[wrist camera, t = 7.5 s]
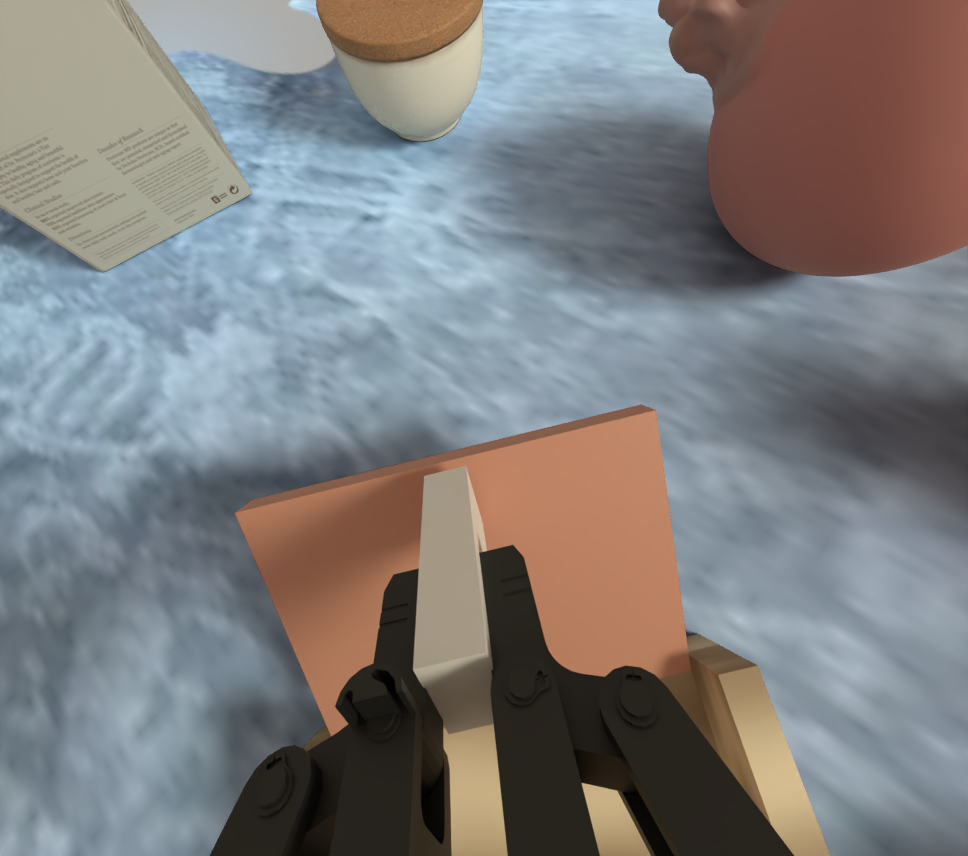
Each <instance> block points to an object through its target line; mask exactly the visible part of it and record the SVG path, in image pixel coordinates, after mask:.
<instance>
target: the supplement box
mask: <svg viewBox="0 0 968 856" xmlns="http://www.w3.org/2000/svg"><path fill="white" fill-rule="evenodd" d="M251 193H252V191H251V189H250V187H249V186H248V184H247V182H246V180H245V179H244V177H243V175H242V173H241V171H240V170H239V168H238V166H237V164H236V163H235V161H234V159H233V157H232V155H231V154H230V152H229V150H228V148H227V147H226V145H225V143H224V141H223V139H222V138H221V136H220V134H219V132H218V130H217V129H216V127H215V125H214V123H213V122H212V120H211V118H210V116H209V115H208V113H207V111H206V110H205V108H204V106H203V105H202V103H201V102H200V100H199V99H198V98H197V96H196V95H195V94H194V92H193V91H192V90H191V88H190V87H189V85H188V84H187V83H186V81H185V80H184V79H183V77H182V76H181V74H180V73H179V72H178V70H177V69H176V68H175V66H174V65H173V63H172V62H171V61H170V59H169V58H168V56H167V55H166V54H165V52H164V51H163V50H162V48H161V47H160V45H159V44H158V43H157V41H156V40H155V38H154V37H153V36H152V34H151V33H150V32H149V30H148V29H147V27H146V26H145V25H144V23H143V22H142V20H141V19H140V18H139V16H138V15H137V14H136V12H135V11H134V10H133V8H132V7H131V5H130V4H129V3H128V1H127V0H0V207H1V208H2V209H4V210H6V211H7V212H9V213H10V214H12V215H13V216H15V217H16V218H18V219H20V220H21V221H23V222H24V223H26V224H27V225H29V226H30V227H32V228H34V229H35V230H37V231H38V232H40V233H42V234H43V235H45V236H46V237H48V238H49V239H51V240H53V241H54V242H56V243H57V244H59V245H60V246H62V247H64V248H65V249H67V250H68V251H70V252H71V253H73V254H74V255H76V256H77V257H79V258H80V259H82V260H83V261H85V262H86V263H88V264H89V265H91V266H92V267H94V268H95V269H97V270H98V271H100V272H105V271H107V270H109V269H111V268H113V267H115V266H117V265H118V264H120V263H122V262H124V261H126V260H128V259H130V258H132V257H134V256H136V255H137V254H139V253H141V252H143V251H145V250H147V249H149V248H151V247H153V246H154V245H156V244H158V243H160V242H162V241H164V240H166V239H168V238H170V237H172V236H173V235H175V234H177V233H179V232H181V231H183V230H185V229H187V228H189V227H190V226H192V225H194V224H196V223H198V222H200V221H202V220H204V219H206V218H208V217H209V216H211V215H213V214H215V213H217V212H219V211H221V210H222V209H224V208H226V207H228V206H230V205H232V204H234V203H236V202H238V201H240V200H242V199H243V198H245V197H247V196H249V195H250V194H251Z"/></svg>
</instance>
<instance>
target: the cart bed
mask: <svg viewBox="0 0 968 856" xmlns="http://www.w3.org/2000/svg"><path fill="white" fill-rule="evenodd" d="M686 638H687V645H688V653H689V660H690V667H691V671H688V672H684V673H680V674H675V675H671V676H667V677H663V678H659V679H660V680H661V681H662V682H663V683H664V684H665V685H666V686H667V687H668V689H669V690H670V691H671V693H672V694H673V695H674V697H675V698H676V699H677V701H678V702H679V703H680V705H681V706H682V707H683V709H684V710H685V711H686V713H687V714H688V715H689V717H690V718H691V719H692V721H693V722H694V723H695V725H696V726H697V727H698V729H699V730H700V731H701V733H702V734H703V735H704V737H705V738H706V739H707V741H708V742H709V743H710V745H711V746H712V747H713V748H714V750H715V751H716V752H717V754H718V755H719V756H720V758H721V759H722V760H723V762H724V763H725V764H726V766H727V767H728V768H729V770H730V771H731V772H732V774H733V775H734V776H735V778H736V779H737V780H738V782H739V783H740V784H741V786H742V787H743V788H744V790H745V791H746V792H747V794H748V795H749V796H750V798H751V799H752V800H753V802H754V803H755V804H756V805H757V807H758V808H759V809H760V811H761V812H762V813H763V815H764V816H765V817H766V819H767V820H768V821H769V823H770V824H771V825H772V827H773V828H774V829H775V831H776V832H777V833H778V835H779V836H780V837H781V839H782V840H783V841H784V843H785V844H786V845H787V847H788V848H789V849H790V851H791V852H792V853H793V855H794V856H830V853H829V851H828V848H827V845H826V843H825V840H824V838H823V835H822V832H821V830H820V827H819V825H818V822H817V819H816V817H815V814H814V812H813V809H812V806H811V804H810V801H809V799H808V796H807V793H806V791H805V788H804V785H803V783H802V780H801V778H800V775H799V772H798V770H797V767H796V765H795V762H794V759H793V757H792V754H791V752H790V749H789V746H788V744H787V741H786V739H785V736H784V733H783V731H782V728H781V726H780V723H779V720H778V718H777V715H776V713H775V710H774V707H773V705H772V702H771V699H770V697H769V694H768V692H767V689H766V686H765V684H764V681H763V679H762V676H761V673H760V671H759V668H758V666H757V665H755V664H754V663H752V662H750V661H748V660H746V659H744V658H743V657H741V656H739V655H737V654H735V653H733V652H731V651H730V650H728V649H726V648H724V647H722V646H720V645H718V644H717V643H715V642H713V641H711V640H709V639H707V638H705V637H704V636H702V635H700V634H696V635H692V636H687V637H686ZM329 737H331V735H330V733H329V730H328V728H327V726H326V725H325V726H324V727H323V728H322V729H321V730H320V731H319V732H318V733H317V734H316V735H315V736H314V737H313V738H312V739H311V740H310V741H309V742H308V743H307V744H306V745H305V746H304V747H303V749H305V750H306V751H308V750H310V749H312V748H313V747H315V746H316V745H318V744H320V743H321V742H323V741H324V740H326V739H328V738H329ZM443 746H444V751H445V752H446V754H447V756H448V762H449V767H450V806H451V852H452V856H508V854H507V845H506V835H505V826H504V816H503V807H502V798H501V788H500V779H499V770H498V760H497V751H496V742H495V732H494V724H491V725H487V726H482V727H478V728H474V729H470V730H465V731H461V732H457V733H452V734H448V732H447V730H446V729H444V730H443ZM582 787H583V791H584V794H585V798H586V802H587V806H588V810H589V814H590V818H591V822H592V826H593V830H594V834H595V838H596V842H597V846H598V850H599V854H600V856H651V855H650V853H649V851H648V849H647V847H646V845H645V843H644V841H643V840H642V838H641V836H640V834H639V832H638V830H637V828H636V826H635V824H634V822H633V820H632V818H631V816H630V814H629V812H628V811H627V809H626V807H625V805H624V803H623V801H622V799H621V797H620V795H619V793H618V791H616V790H612V789H607V788H603V787H598V786H594V785H589V784H585V783H582Z"/></svg>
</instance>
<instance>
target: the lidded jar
mask: <svg viewBox="0 0 968 856" xmlns="http://www.w3.org/2000/svg"><path fill="white" fill-rule="evenodd" d="M316 7H317V11H318V15H319V18H320V21H321V23H322V26H323V28H324V30H325V32H326V34H327V36H328V38H329V39H330V42H331V44H332V47H333V50H334V52H335V55H336V57H337V60H338V62H339V65H340V67H341V69H342V71H343V73H344V75H345V77H346V79H347V81H348V83H349V85H350V87H351V89H352V90H353V92H354V94H355V95H356V97H357V99H358V100H359V101H360V103H361V104H362V105H363V106H364V108H365V109H366V110H367V111H368V113H369V114H370V115H371V116H372V117H374V118H375V119H376V120H377V121H378V122H379V123H381V124H382V125H384V126H385V127H387V128H389V129H390V130H392V131H394V132H395V133H396V134H397V135H398V136H400V137H402V138H404V139H406V140H410V141H416V142H424V141H431V140H434V139H437V138H440V137H442V136H444V135H446V134H447V133H448V132H450V131H451V130H452V129H453V128H454V127H455V126H456V125H457V123H458V122H459V120H460V117H461V115H462V114H463V113H464V111H465V110H466V108H467V107H468V105H469V104H470V102H471V100H472V98H473V95H474V93H475V91H476V87H477V84H478V80H479V76H480V73H481V65H482V56H483V38H484V25H483V0H316Z"/></svg>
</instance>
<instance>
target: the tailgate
mask: <svg viewBox="0 0 968 856" xmlns="http://www.w3.org/2000/svg"><path fill="white" fill-rule="evenodd" d="M463 466H466V468H467V471H468V474H469V478H470V481H471V485H472V488H473V491H474V495H475V498H476V502H477V505H478V508H479V512H480V515H481V519H482V522H483V528H484V534H485V541H486V548H487V551H489V550H493V549H497V548H501V547H506V546H510V545H514V546H515V547H516V549H517V550H518V551H519V552H520V553H521V554H522V555H523V557H524V560H525V564H526V568H527V571H528V576H529V579H530V583H531V587H532V591H533V595H534V599H535V603H536V607H537V611H538V615H539V619H540V622H541V626H542V630H543V634H544V638H545V642H546V645H547V647H548V650H549V652H550V653H551V655H552V656H553V657H554V659H555V660H556V661H557V662H558V663H560V664H561V665H562V666H563V667H565V668H567V669H569V670H571V671H573V672H577V673H581V674H588V675H595V676H603V677H605V676H606V675H608V674H609V673H610V672H611V671H612V670H613V669H616V668H619V667H623V666H634V667H641V668H643V669H645V670H647V671H649V672H651V673H653V674H655V675H656V676H657V677H658V678H663V677H667V676H671V675H675V674H680V673H684V672H688V671H691V667H690V660H689V653H688V645H687V638H686V630H685V623H684V616H683V608H682V601H681V593H680V586H679V578H678V571H677V564H676V556H675V549H674V541H673V534H672V526H671V519H670V512H669V504H668V497H667V489H666V482H665V475H664V467H663V460H662V452H661V445H660V437H659V430H658V423H657V415H656V410H654V409H651V408H649V407H646V406H643V405H638V406H634V407H630V408H626V409H622V410H617V411H613V412H609V413H605V414H601V415H597V416H593V417H589V418H585V419H581V420H576V421H572V422H568V423H564V424H560V425H556V426H552V427H548V428H544V429H540V430H536V431H531V432H527V433H523V434H519V435H515V436H511V437H507V438H503V439H499V440H495V441H491V442H486V443H482V444H478V445H474V446H470V447H466V448H462V449H458V450H454V451H450V452H445V453H441V454H437V455H433V456H429V457H425V458H421V459H417V460H413V461H409V462H405V463H400V464H396V465H392V466H388V467H384V468H380V469H376V470H372V471H368V472H364V473H360V474H355V475H351V476H347V477H343V478H339V479H335V480H331V481H327V482H323V483H319V484H314V485H310V486H306V487H302V488H298V489H294V490H290V491H286V492H282V493H278V494H274V495H269V496H265V497H261V498H257V499H253V500H251V501H250V502H249V503H247V504H246V505H245V506H243V507H242V508H241V509H239V510H238V511H237V512H235V515H236V517H237V519H238V522H239V524H240V526H241V528H242V531H243V533H244V535H245V538H246V540H247V542H248V545H249V547H250V549H251V552H252V554H253V556H254V559H255V561H256V563H257V566H258V568H259V570H260V573H261V575H262V577H263V580H264V582H265V584H266V586H267V589H268V591H269V593H270V596H271V598H272V600H273V603H274V605H275V607H276V610H277V612H278V614H279V617H280V619H281V621H282V624H283V626H284V628H285V631H286V633H287V635H288V637H289V640H290V642H291V644H292V647H293V649H294V651H295V654H296V656H297V658H298V661H299V663H300V665H301V668H302V670H303V672H304V675H305V677H306V679H307V682H308V684H309V686H310V689H311V691H312V693H313V695H314V698H315V700H316V702H317V705H318V707H319V709H320V712H321V714H322V716H323V719H324V721H325V723H326V726H327V728H328V730H329V733H330V735H331V736H333V735H334V734H336V733H337V732H339V731H340V730H341V729H343V728H344V727H345V726H347V725H348V723H347V721H346V720H345V719H344V718H343V716H342V715H341V714H340V713H339V711H338V710H337V709H336V708H335V705H336V702H337V699H338V697H339V694H340V691H341V690H342V689H343V687H344V686H345V684H346V683H347V682H348V680H349V679H350V678H351V677H352V676H353V675H354V674H356V673H357V672H358V671H359V670H360V669H362V668H364V667H366V666H369V665H371V664H373V662H374V655H375V649H376V642H377V635H378V629H379V628H380V625H379V622H380V615H381V613H382V610H381V609H382V602H383V595H384V591H385V589H386V587H387V585H388V583H389V582H390V580H391V578H392V576H393V574H397V573H402V572H406V571H410V570H414V569H418V568H419V557H420V540H421V523H422V506H423V489H424V476H426V475H430V474H434V473H438V472H442V471H447V470H451V469H455V468H459V467H463ZM444 729H445V727H444V725H443V730H444Z"/></svg>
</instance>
